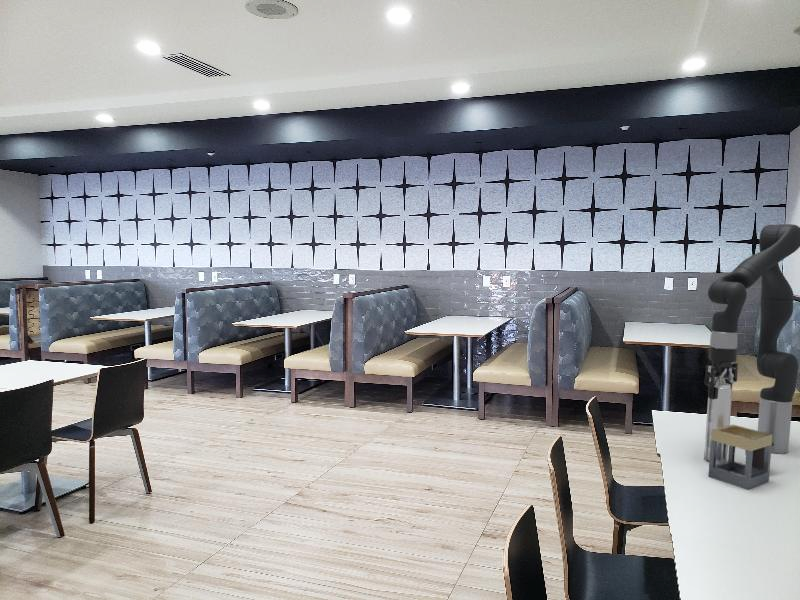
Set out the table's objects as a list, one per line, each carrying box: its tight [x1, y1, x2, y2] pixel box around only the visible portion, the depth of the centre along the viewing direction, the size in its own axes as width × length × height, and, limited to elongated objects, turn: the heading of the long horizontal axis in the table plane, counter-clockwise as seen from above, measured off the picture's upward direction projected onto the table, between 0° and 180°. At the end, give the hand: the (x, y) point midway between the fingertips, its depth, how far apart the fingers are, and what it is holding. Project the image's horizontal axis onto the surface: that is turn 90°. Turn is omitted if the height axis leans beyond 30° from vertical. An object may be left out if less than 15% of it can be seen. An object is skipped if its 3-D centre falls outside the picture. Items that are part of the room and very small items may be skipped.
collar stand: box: [708, 423, 772, 490], centre depth 178 cm, size 11×11×14 cm
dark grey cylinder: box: [752, 442, 774, 470], centre depth 186 cm, size 8×8×10 cm
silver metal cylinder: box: [703, 381, 733, 464], centre depth 192 cm, size 6×6×25 cm
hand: (719, 397), depth 191 cm, fingers open, 8 cm apart
